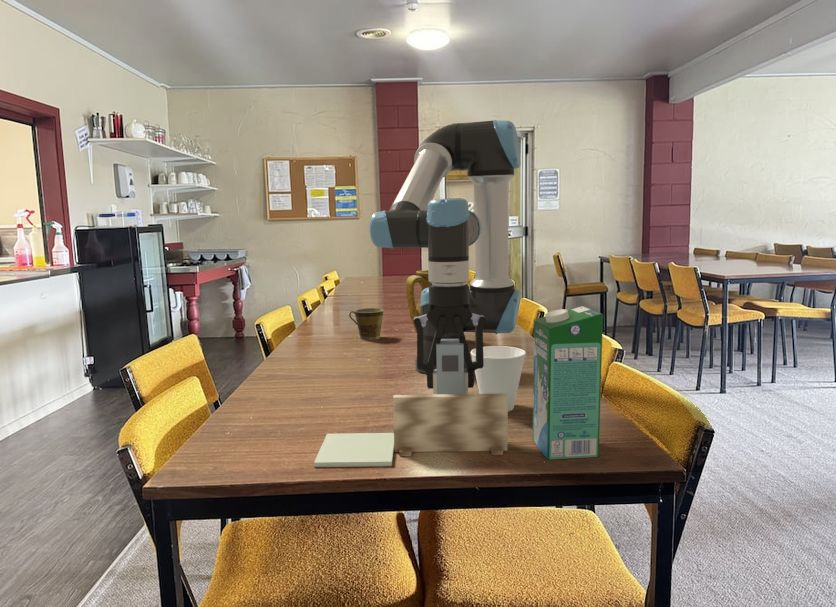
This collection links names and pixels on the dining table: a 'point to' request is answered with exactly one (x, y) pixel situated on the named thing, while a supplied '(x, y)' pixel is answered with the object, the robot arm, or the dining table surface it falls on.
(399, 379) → the dining table surface
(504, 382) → the cup
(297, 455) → the dining table surface
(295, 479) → the dining table surface
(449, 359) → the block
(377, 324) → the ceramic cup
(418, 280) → the pitcher
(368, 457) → the mat
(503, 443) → the birch screen
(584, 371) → the milk carton
